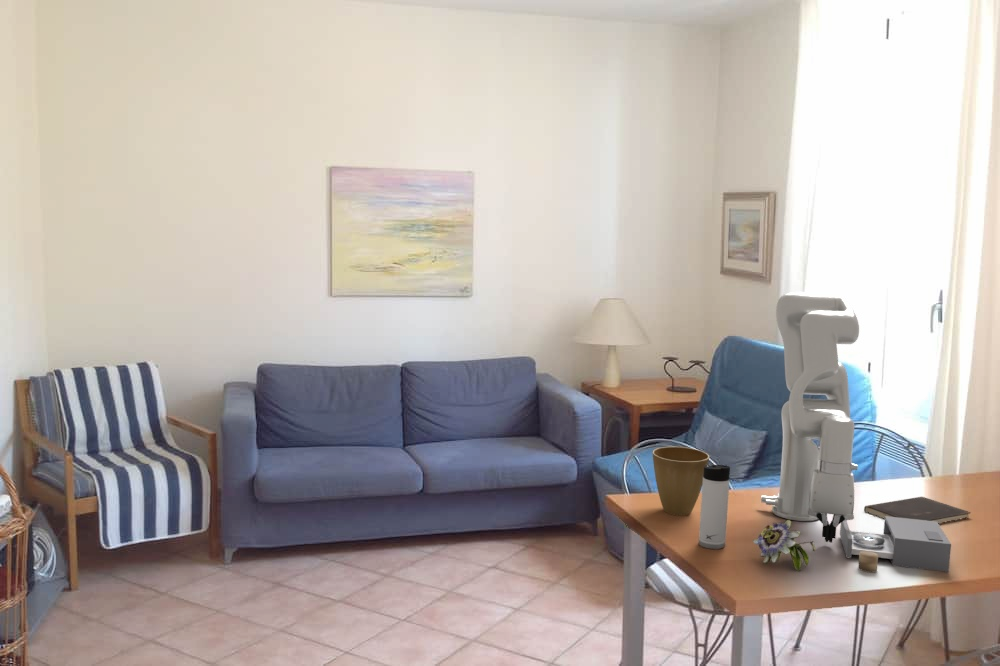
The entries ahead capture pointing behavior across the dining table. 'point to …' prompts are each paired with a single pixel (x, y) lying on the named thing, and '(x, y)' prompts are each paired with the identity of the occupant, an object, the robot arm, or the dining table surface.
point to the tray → (854, 549)
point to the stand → (868, 561)
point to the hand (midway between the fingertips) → (828, 540)
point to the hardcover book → (917, 510)
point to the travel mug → (714, 506)
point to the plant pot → (679, 477)
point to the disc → (868, 541)
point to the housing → (918, 543)
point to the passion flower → (781, 544)
